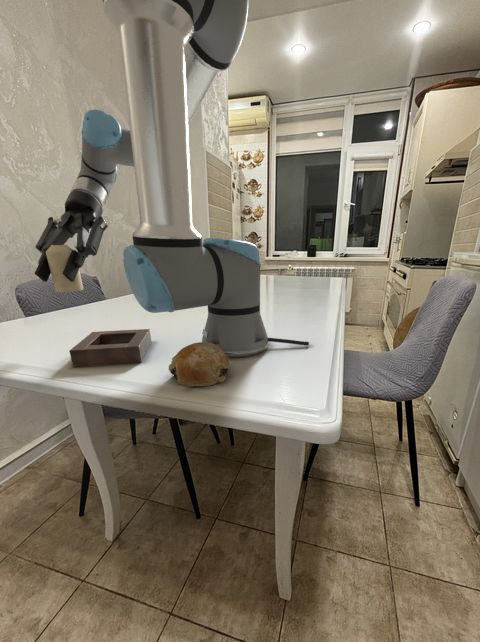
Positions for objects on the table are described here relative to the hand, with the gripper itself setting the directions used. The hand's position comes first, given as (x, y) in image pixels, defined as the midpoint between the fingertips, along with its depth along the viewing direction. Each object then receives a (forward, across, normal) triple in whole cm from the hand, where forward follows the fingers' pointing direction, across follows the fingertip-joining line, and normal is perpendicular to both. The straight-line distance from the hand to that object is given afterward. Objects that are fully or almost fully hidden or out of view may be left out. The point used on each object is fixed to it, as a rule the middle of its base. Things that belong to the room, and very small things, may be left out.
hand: (54, 277), depth 62 cm
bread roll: (+21, -34, -2) cm, 40 cm away
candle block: (+14, -13, -8) cm, 21 cm away
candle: (0, 0, -5) cm, 5 cm away
